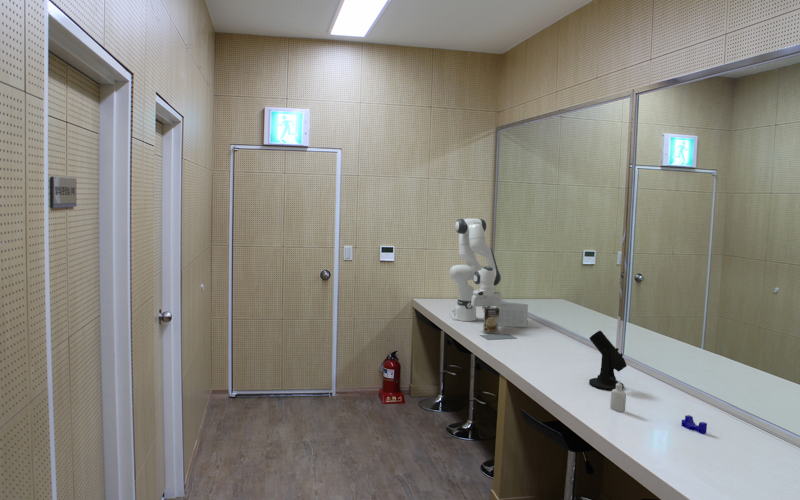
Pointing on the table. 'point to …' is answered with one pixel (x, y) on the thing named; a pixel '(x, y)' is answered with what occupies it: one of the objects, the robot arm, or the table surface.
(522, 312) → the skincare box
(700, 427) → the cable holder
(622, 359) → the microphone
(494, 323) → the coffee box
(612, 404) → the eye dropper bottle
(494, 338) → the mat
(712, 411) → the table surface
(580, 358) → the table surface
